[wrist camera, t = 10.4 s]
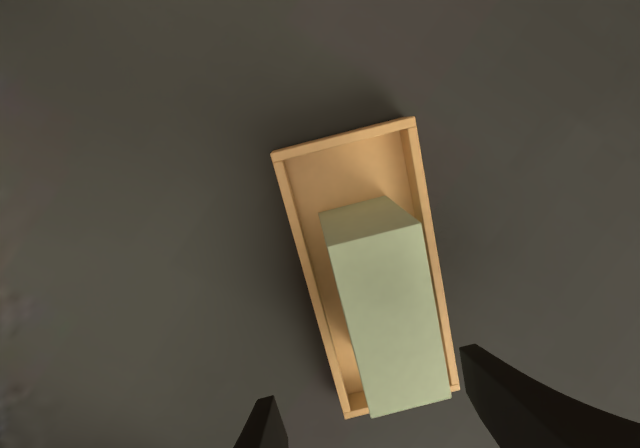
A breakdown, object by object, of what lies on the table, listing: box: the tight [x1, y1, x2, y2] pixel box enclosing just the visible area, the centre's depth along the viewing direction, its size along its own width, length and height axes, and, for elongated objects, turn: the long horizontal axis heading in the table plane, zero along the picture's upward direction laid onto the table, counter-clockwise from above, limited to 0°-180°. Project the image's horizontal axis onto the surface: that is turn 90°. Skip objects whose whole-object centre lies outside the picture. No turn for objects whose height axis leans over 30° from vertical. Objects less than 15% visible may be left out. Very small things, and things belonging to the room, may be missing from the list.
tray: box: [270, 116, 460, 419], centre depth 21 cm, size 17×8×2 cm, turn 14°
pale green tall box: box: [318, 196, 452, 418], centre depth 19 cm, size 4×9×6 cm, turn 14°
